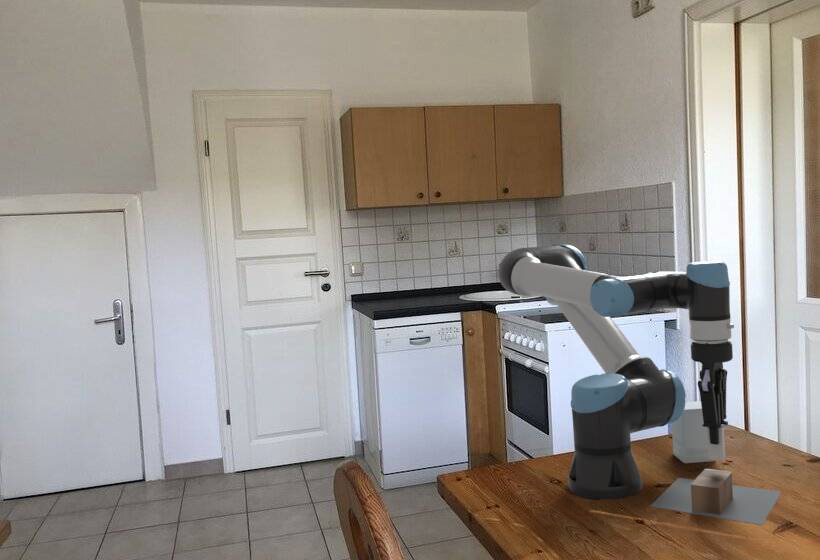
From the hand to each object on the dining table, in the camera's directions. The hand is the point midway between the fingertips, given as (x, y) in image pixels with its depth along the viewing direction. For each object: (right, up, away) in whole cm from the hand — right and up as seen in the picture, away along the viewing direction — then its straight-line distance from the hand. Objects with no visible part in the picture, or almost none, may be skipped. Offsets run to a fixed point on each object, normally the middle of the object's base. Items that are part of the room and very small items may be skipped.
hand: (717, 458), depth 142 cm
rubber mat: (-1, -8, -1) cm, 8 cm away
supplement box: (+5, -6, +24) cm, 26 cm away
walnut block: (+1, -5, +1) cm, 5 cm away
